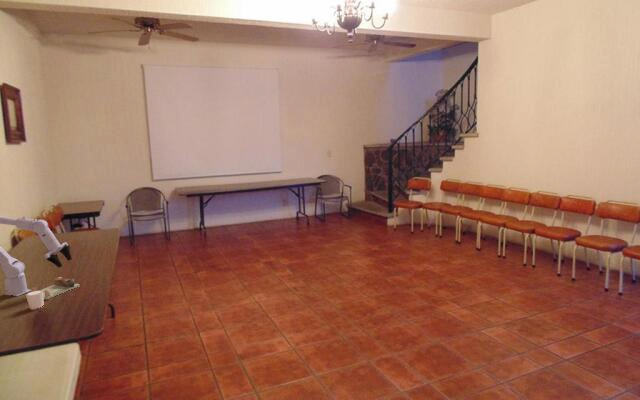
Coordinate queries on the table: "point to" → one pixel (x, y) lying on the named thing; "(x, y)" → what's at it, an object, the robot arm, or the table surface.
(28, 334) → the table surface
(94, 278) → the table surface
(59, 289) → the seat
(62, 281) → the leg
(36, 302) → the shot glass
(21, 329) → the table surface
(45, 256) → the robot arm
